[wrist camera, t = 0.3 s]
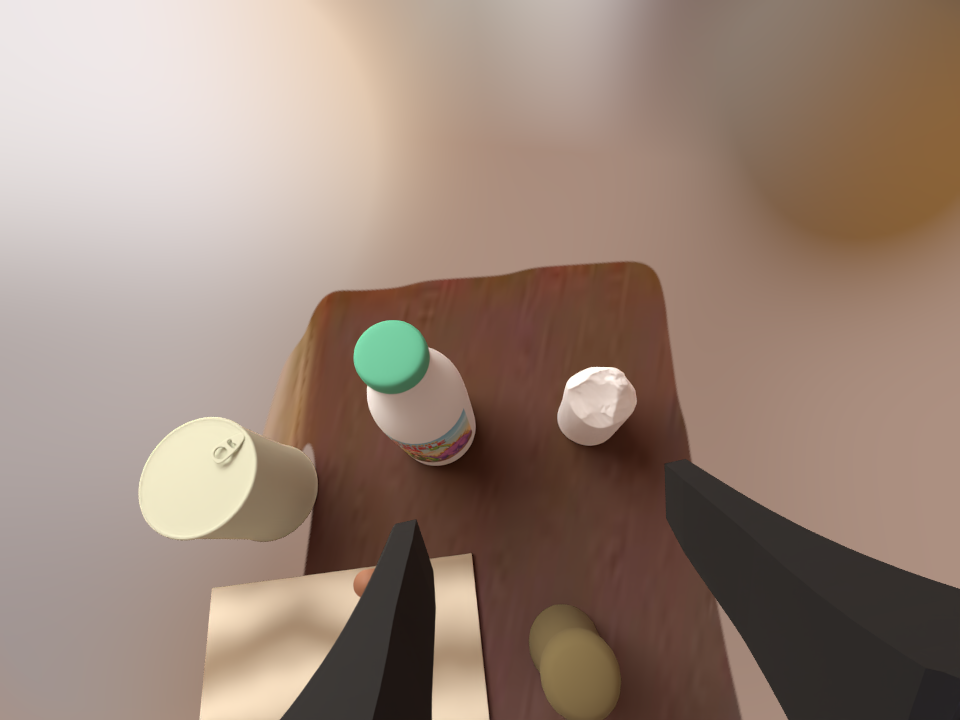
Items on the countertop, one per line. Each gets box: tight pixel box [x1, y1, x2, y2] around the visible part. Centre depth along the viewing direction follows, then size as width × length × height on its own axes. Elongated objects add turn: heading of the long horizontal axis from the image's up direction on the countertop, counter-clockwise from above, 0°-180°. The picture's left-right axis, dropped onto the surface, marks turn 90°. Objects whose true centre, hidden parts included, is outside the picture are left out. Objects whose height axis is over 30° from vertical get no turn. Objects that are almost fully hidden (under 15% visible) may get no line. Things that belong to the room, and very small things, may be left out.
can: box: [139, 417, 318, 542], centre depth 39 cm, size 9×9×12 cm
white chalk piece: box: [557, 367, 637, 446], centre depth 40 cm, size 6×12×6 cm
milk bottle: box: [354, 320, 476, 466], centre depth 36 cm, size 8×8×20 cm
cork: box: [529, 604, 621, 720], centre depth 33 cm, size 6×6×11 cm
